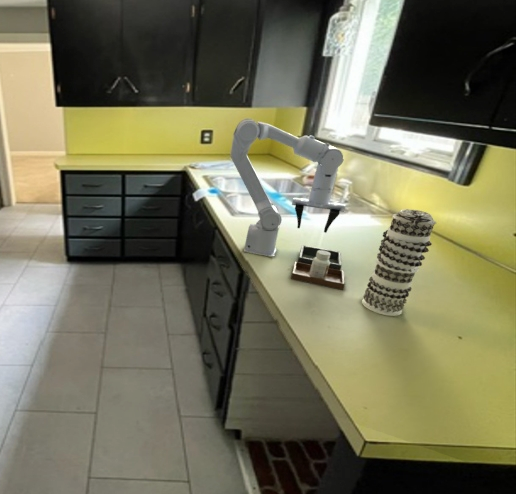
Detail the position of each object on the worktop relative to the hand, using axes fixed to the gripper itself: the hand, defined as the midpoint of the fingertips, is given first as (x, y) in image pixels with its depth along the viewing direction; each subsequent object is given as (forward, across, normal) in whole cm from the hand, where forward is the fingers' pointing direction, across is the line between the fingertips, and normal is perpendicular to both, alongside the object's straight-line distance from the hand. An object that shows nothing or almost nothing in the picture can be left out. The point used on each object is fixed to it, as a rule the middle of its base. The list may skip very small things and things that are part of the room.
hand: (311, 229), depth 116 cm
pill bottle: (+9, +4, -16) cm, 18 cm away
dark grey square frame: (+9, +4, -4) cm, 11 cm away
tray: (+9, +4, -16) cm, 19 cm away
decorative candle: (+10, +19, -25) cm, 33 cm away
